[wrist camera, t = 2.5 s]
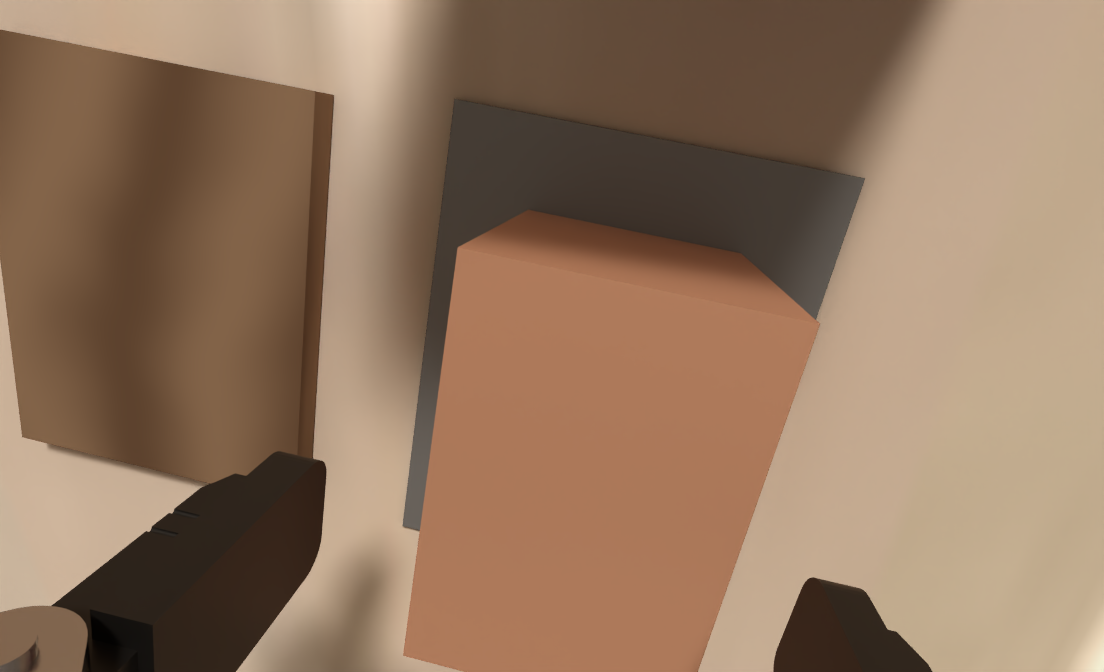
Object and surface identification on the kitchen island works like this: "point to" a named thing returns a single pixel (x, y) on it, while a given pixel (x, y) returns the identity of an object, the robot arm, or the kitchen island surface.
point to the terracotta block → (596, 447)
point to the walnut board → (161, 256)
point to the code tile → (622, 213)
